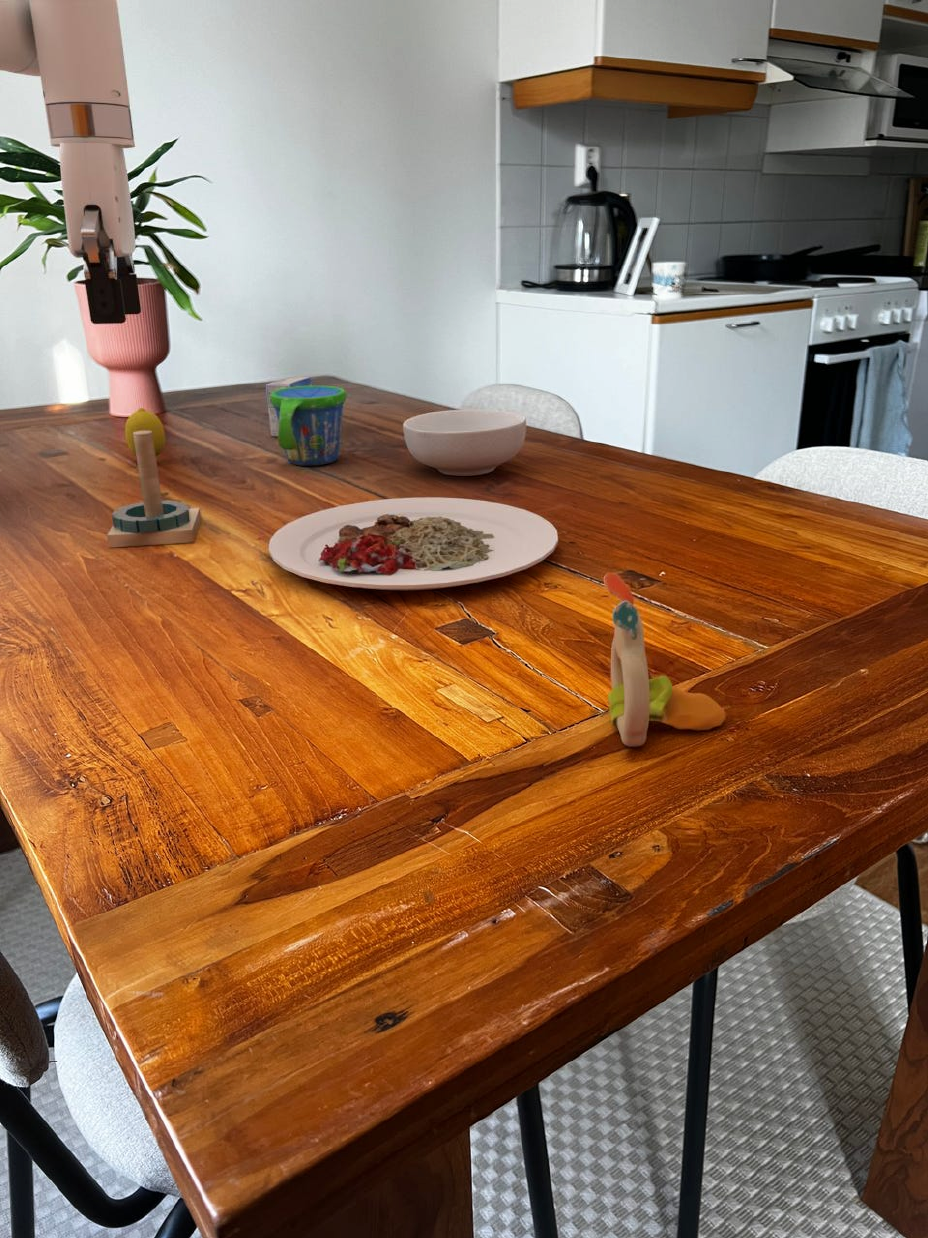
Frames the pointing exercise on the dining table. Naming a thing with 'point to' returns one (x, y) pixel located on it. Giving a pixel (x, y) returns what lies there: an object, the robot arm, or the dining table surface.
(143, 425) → the lemon
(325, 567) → the plated food
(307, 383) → the medicine box
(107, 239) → the robot arm
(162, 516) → the ring
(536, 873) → the dining table surface
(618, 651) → the rattle
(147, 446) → the stand
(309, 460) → the snack cup
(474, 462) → the cereal bowl
